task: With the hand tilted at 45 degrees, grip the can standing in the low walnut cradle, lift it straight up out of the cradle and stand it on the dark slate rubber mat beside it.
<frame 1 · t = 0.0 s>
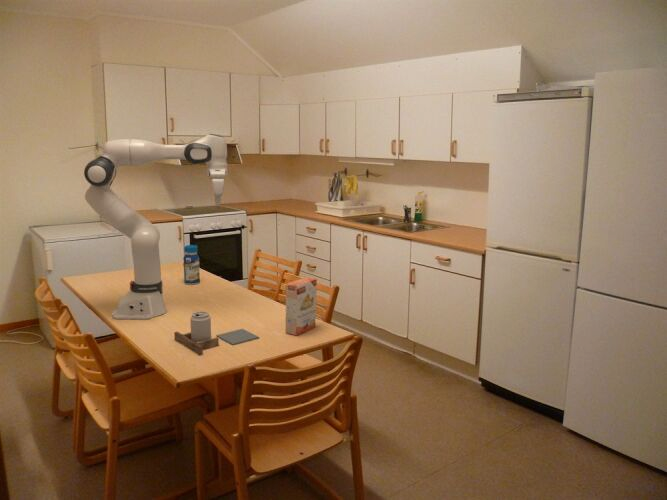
hand: (217, 204, 248), 48 cm above the table, tool pointing down, fingers open, 8 cm apart
walnut cradle: (201, 343, 216), on the table
beverage bottle: (192, 283, 301), on the table
cracker box: (301, 330, 233), on the table
slate mat: (237, 337, 223), on the table
can: (201, 344, 216), on the table
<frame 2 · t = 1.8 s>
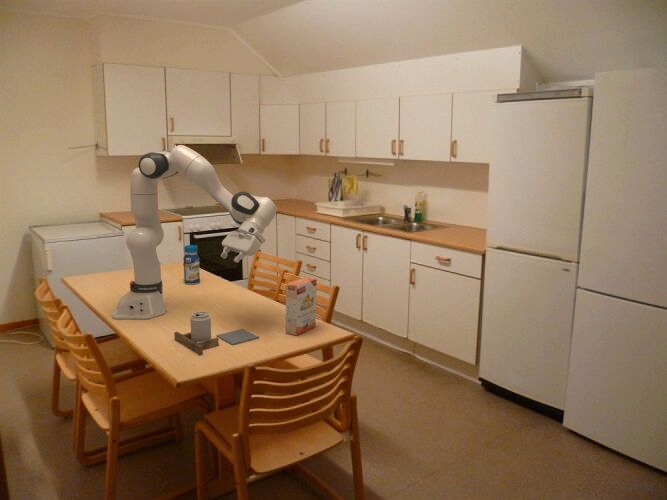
hand: (228, 259, 224), 30 cm above the table, tool tilted 45°, fingers open, 8 cm apart
nothing on the table moved.
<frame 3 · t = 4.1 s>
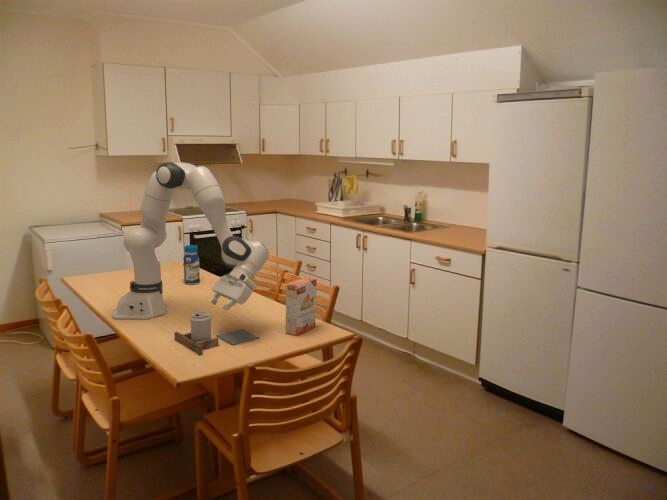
hand: (218, 306, 218), 13 cm above the table, tool tilted 45°, fingers open, 8 cm apart
nothing on the table moved.
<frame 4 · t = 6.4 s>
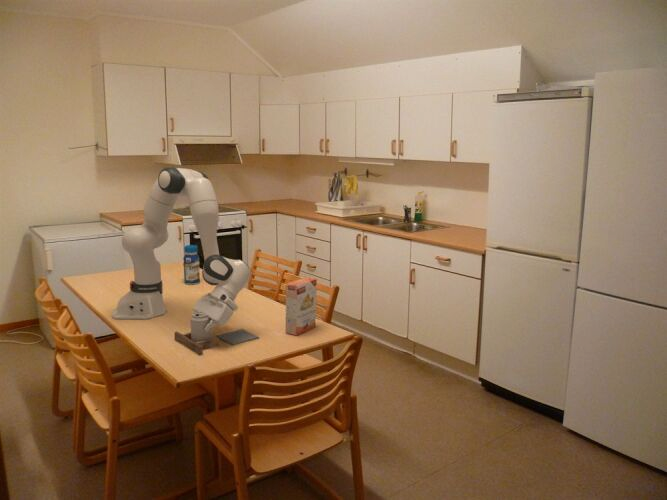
hand: (199, 327, 214), 7 cm above the table, tool tilted 45°, fingers closed on can, 7 cm apart
can: (201, 343, 216), on the table, touching gripper
everything else where it was.
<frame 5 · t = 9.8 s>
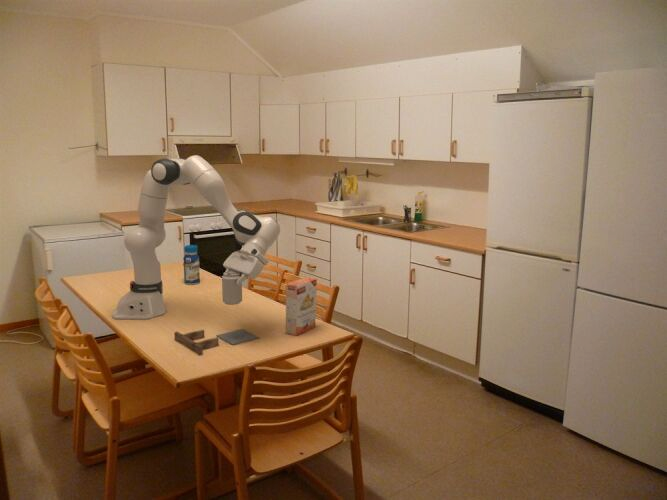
hand: (230, 282, 217), 23 cm above the table, tool tilted 45°, fingers closed on can, 7 cm apart
can: (232, 303, 219), point 14 cm above the table, touching gripper
everything else where it was.
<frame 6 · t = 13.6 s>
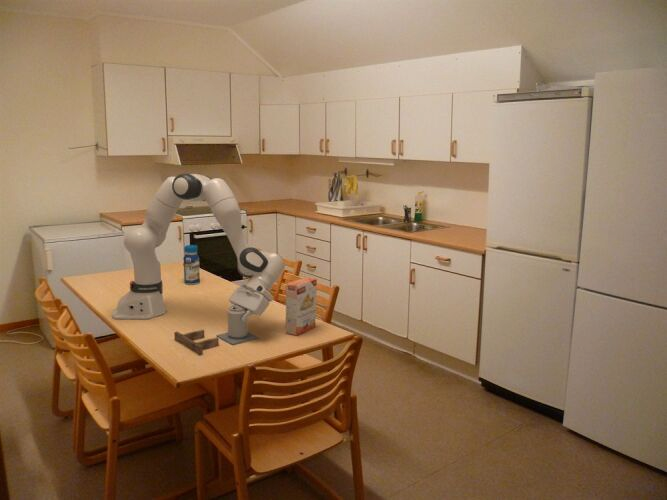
hand: (236, 317, 221), 8 cm above the table, tool tilted 45°, fingers closed on can, 7 cm apart
can: (237, 336, 223), resting on slate mat, touching gripper
everything else where it was.
when the fingers open (8 cm above the table, at t = 14.1 s): can stays where it is, resting on slate mat.
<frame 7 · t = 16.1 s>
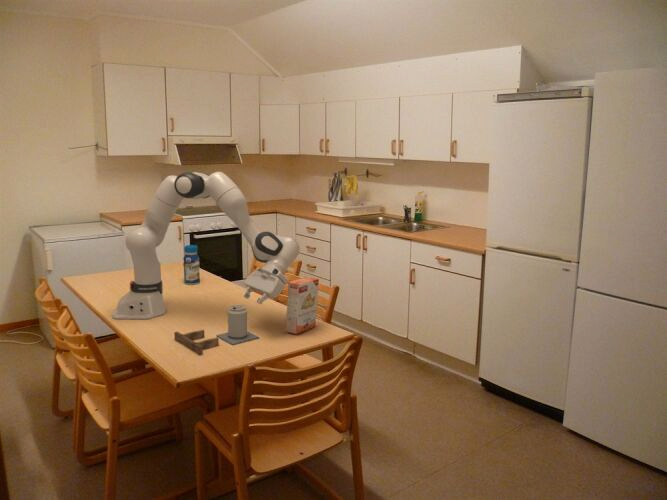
hand: (251, 300, 224), 14 cm above the table, tool tilted 45°, fingers open, 8 cm apart
cracker box: (301, 329, 233), on the table, touching arm
can: (237, 336, 223), resting on slate mat
everything else where it was.
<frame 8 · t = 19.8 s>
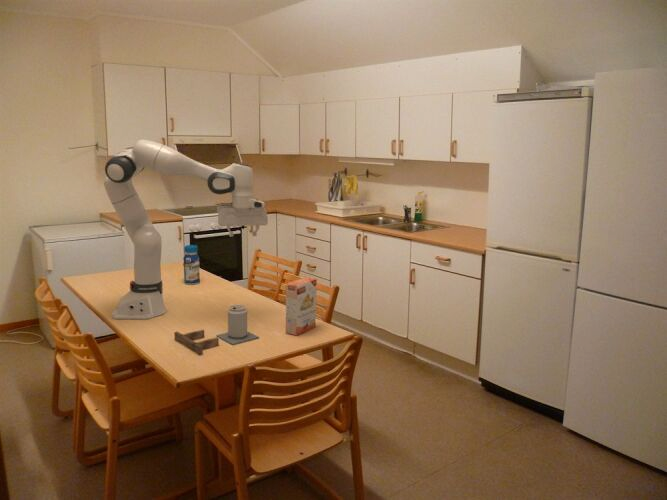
hand: (243, 236, 233), 37 cm above the table, tool pointing down, fingers open, 8 cm apart
cracker box: (301, 330, 233), on the table
everything else where it was.
at the end: can inside the target area on the slate mat (0.0 cm from its centre), point 0.4 cm above the slate mat's base; can tilted 0°; the gripper is holding nothing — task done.
